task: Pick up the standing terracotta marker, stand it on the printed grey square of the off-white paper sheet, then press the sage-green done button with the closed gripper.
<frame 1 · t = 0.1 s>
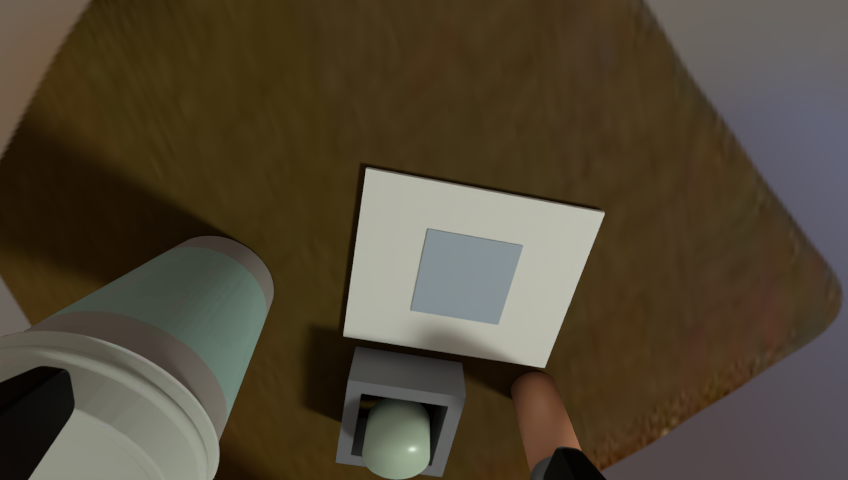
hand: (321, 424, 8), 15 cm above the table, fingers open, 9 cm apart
button housing: (400, 394, 27), on the table
button: (397, 437, 24), point 3 cm above the table, slide at 0.0 cm
paper: (464, 276, 23), on the table
coffee cup: (222, 281, 24), on the table
marker: (533, 389, 27), on the table
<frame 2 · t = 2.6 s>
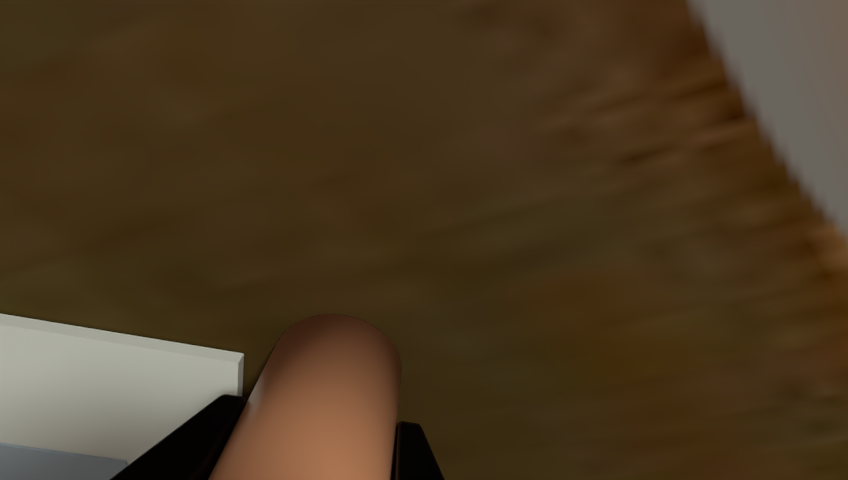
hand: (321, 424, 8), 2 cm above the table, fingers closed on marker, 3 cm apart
marker: (337, 368, 9), on the table, touching gripper
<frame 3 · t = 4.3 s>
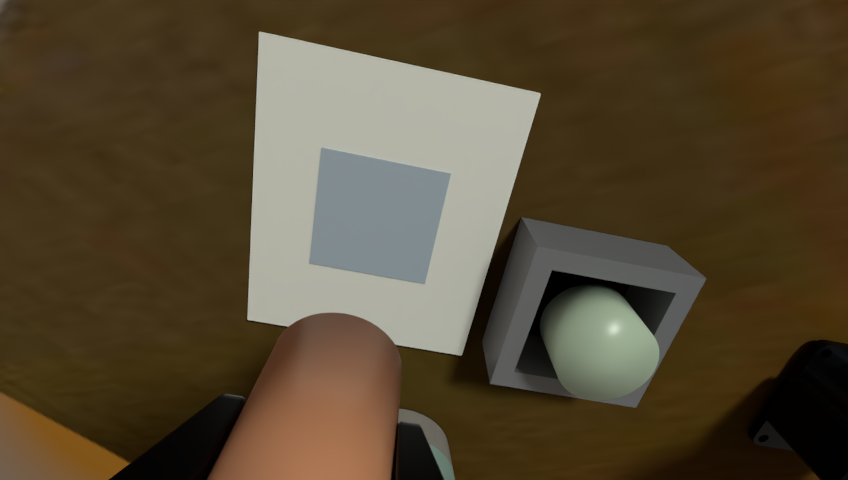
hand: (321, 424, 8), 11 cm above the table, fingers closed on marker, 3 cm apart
button housing: (569, 296, 19), on the table
button: (595, 340, 16), point 3 cm above the table, slide at 0.0 cm
paper: (377, 217, 18), on the table
coffee cup: (395, 444, 23), on the table
marker: (337, 366, 9), point 9 cm above the table, touching gripper
when the fingers open (3 cm above the table, at t = 5.9 s): marker stays where it is, resting on paper.
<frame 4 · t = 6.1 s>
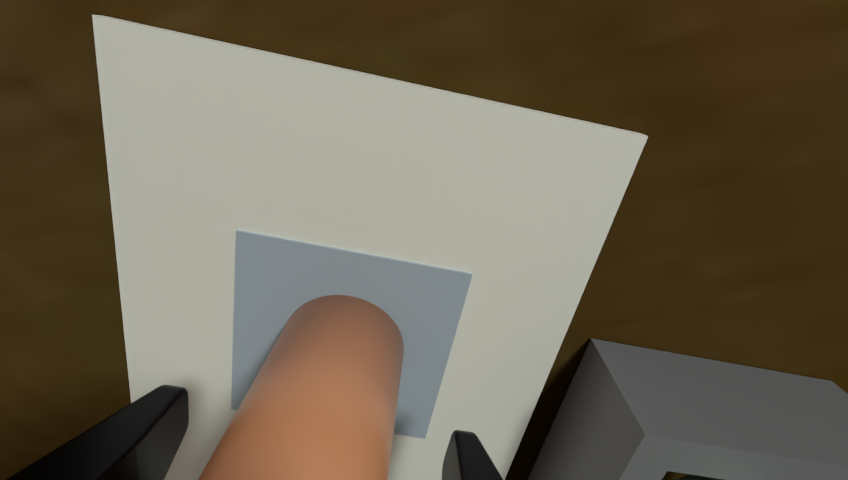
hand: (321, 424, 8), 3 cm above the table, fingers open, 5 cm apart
button housing: (659, 450, 12), on the table
paper: (344, 337, 10), on the table
marker: (343, 346, 10), resting on paper
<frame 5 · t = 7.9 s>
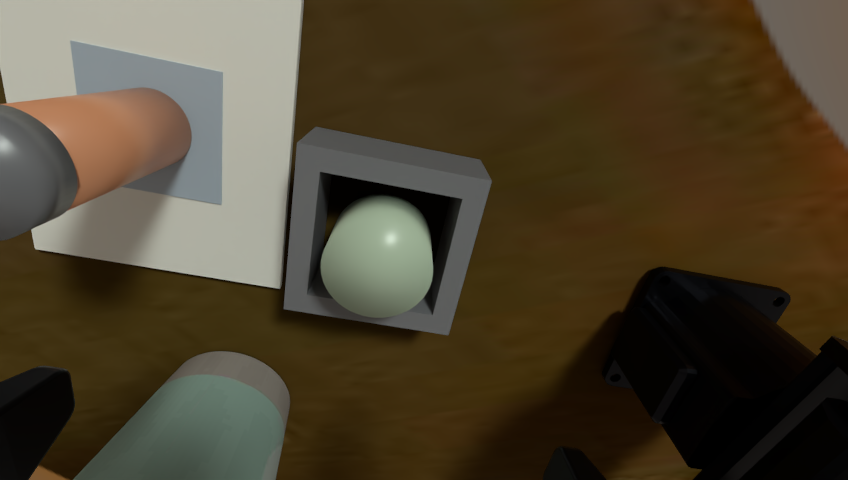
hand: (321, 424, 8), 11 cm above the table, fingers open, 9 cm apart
button housing: (385, 219, 18), on the table
button: (380, 254, 15), point 3 cm above the table, slide at 0.0 cm
paper: (157, 127, 16), on the table
coffee cup: (234, 392, 22), on the table
marker: (152, 127, 16), resting on paper
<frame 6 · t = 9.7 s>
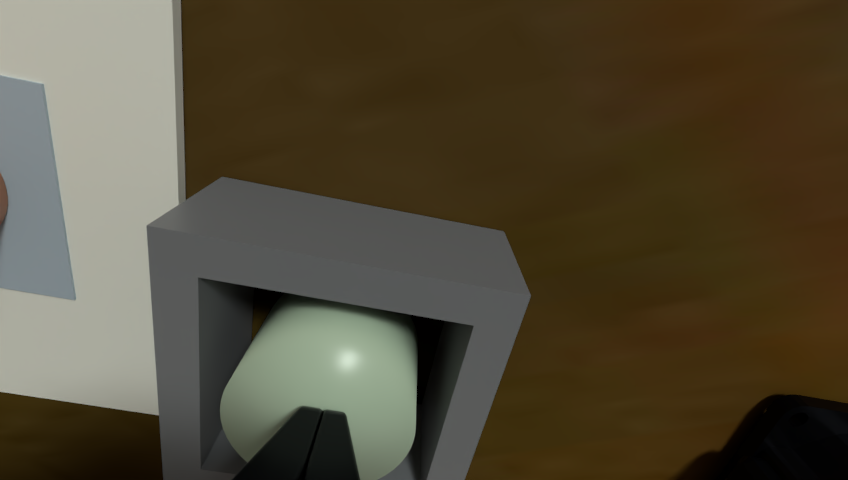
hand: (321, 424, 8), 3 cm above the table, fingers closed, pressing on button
button housing: (348, 320, 11), on the table
button: (331, 379, 9), point 2 cm above the table, slide at 1.1 cm, touching gripper
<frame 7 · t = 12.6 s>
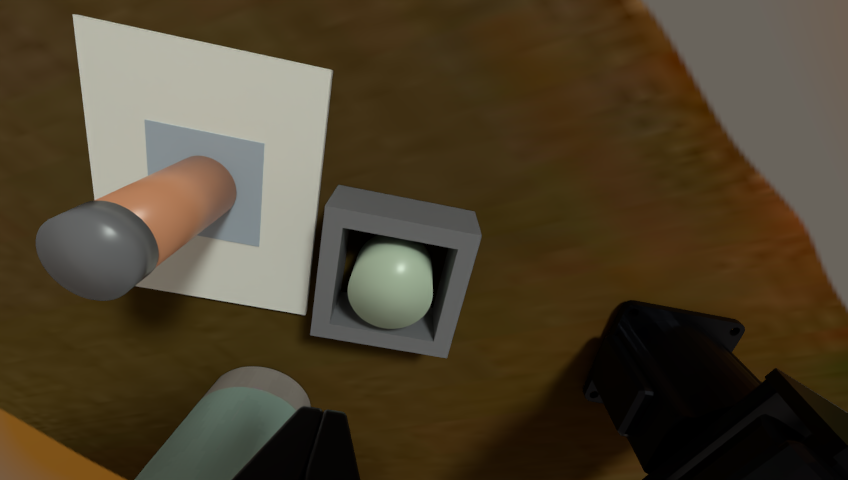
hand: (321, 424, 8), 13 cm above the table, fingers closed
button housing: (395, 258, 21), on the table
button: (392, 279, 19), point 2 cm above the table, slide at 1.2 cm
paper: (208, 184, 20), on the table
coffee cup: (263, 401, 25), on the table
marker: (205, 186, 19), resting on paper
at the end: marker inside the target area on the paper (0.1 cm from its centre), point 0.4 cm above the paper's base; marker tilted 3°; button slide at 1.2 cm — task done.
